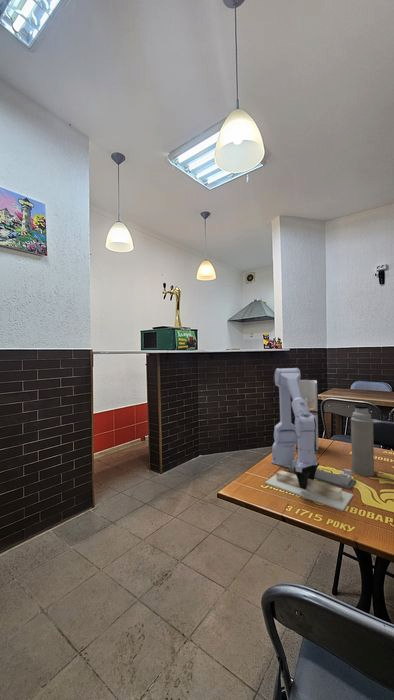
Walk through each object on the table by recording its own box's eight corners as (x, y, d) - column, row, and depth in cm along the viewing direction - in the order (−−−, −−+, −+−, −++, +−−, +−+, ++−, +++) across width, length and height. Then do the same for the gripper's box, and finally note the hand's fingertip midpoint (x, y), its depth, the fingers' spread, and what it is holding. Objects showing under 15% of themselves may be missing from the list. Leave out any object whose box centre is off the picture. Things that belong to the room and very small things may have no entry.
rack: (288, 471, 119) (287, 460, 119) (295, 465, 125) (295, 455, 125) (350, 489, 102) (349, 477, 102) (355, 481, 108) (355, 470, 108)
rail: (276, 480, 110) (276, 472, 110) (279, 477, 112) (279, 469, 112) (339, 500, 94) (338, 491, 94) (341, 497, 96) (341, 488, 96)
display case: (297, 444, 151) (295, 379, 151) (318, 446, 147) (316, 380, 147) (295, 451, 141) (294, 382, 141) (318, 454, 137) (316, 383, 137)
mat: (265, 483, 108) (264, 482, 108) (279, 473, 117) (279, 471, 117) (343, 511, 89) (343, 509, 89) (353, 496, 98) (353, 494, 98)
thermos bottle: (374, 470, 117) (372, 404, 117) (374, 478, 111) (372, 408, 111) (352, 466, 122) (351, 402, 122) (351, 473, 115) (350, 406, 115)
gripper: (309, 456, 95) (310, 496, 95) (324, 445, 106) (324, 480, 106) (289, 451, 100) (290, 489, 100) (305, 441, 111) (306, 475, 111)
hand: (306, 484), depth 103 cm, fingers open, 6 cm apart
